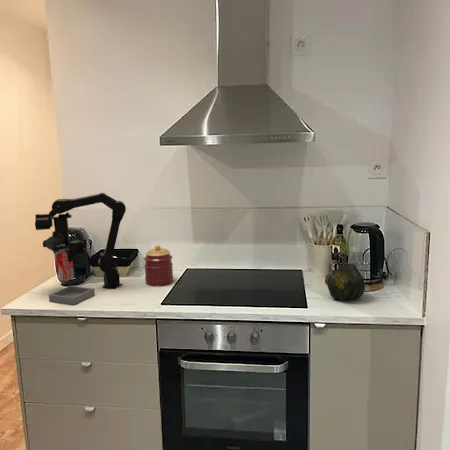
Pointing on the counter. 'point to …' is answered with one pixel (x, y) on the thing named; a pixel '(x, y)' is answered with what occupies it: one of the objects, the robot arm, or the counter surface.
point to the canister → (158, 267)
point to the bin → (71, 295)
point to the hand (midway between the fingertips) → (64, 262)
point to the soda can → (63, 266)
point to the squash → (346, 283)
